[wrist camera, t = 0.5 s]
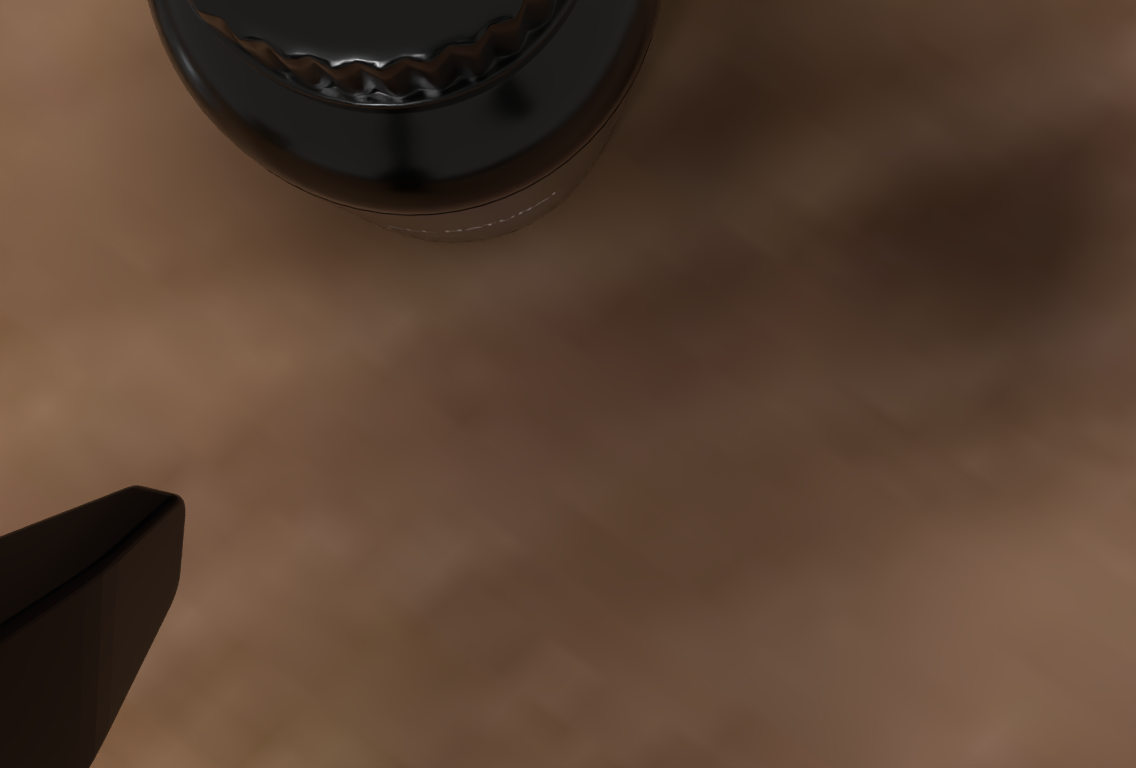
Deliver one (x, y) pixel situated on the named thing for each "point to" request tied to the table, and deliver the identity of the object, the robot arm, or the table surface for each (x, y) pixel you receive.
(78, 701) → the robot arm
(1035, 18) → the table surface
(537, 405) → the table surface
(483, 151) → the supplement bottle
